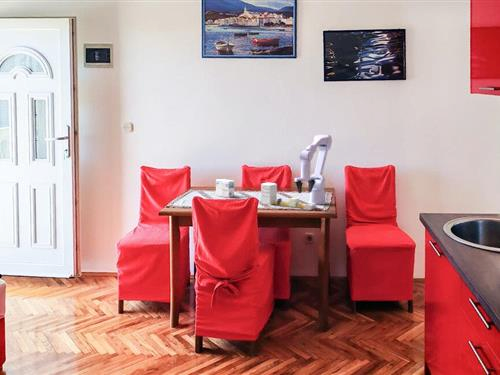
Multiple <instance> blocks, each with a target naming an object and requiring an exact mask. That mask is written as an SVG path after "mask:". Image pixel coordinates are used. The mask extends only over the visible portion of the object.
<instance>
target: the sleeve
mask: <svg viewBox="0 0 500 375" xmlns="http://www.w3.org/2000/svg"><path fill="white" fill-rule="evenodd" d="M289 202H290V204H289V206H288V207H291V208H297V207H296V203H299V202H300V198H299V197H291V198H289ZM299 204H300V203H299Z"/></svg>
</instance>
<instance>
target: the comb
mask: <svg viewBox="0 0 500 375" xmlns="http://www.w3.org/2000/svg"><path fill="white" fill-rule="evenodd" d="M305 204H306V205H305V208H304V210H313V209H316V207H317V205H316V204H315V203H308V204H307V203H305Z"/></svg>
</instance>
